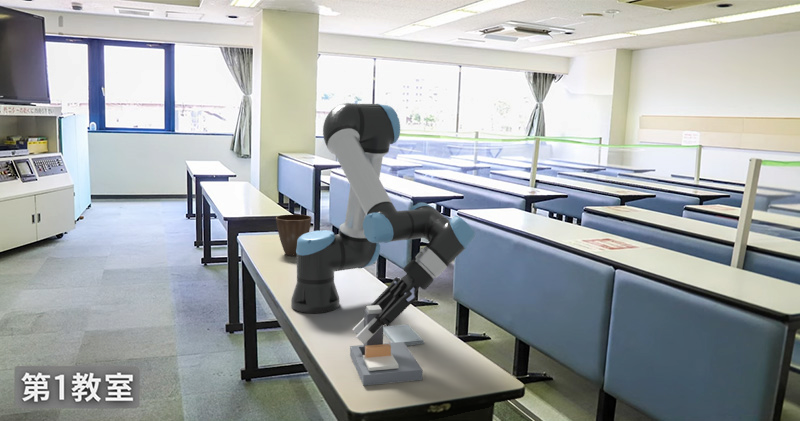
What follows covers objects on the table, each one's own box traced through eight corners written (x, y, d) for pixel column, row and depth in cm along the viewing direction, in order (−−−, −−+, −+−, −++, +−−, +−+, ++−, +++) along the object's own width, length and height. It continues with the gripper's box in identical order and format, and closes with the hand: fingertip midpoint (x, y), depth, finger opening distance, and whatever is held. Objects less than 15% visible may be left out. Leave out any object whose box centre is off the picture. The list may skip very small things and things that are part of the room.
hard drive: (424, 340, 158) (408, 323, 169) (395, 343, 155) (381, 326, 167) (423, 345, 158) (408, 329, 170) (395, 349, 156) (381, 331, 167)
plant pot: (272, 251, 255) (272, 215, 252) (306, 248, 261) (306, 213, 259) (280, 259, 242) (280, 221, 239) (315, 256, 248) (315, 219, 245)
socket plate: (350, 355, 149) (350, 346, 149) (403, 350, 153) (403, 341, 152) (363, 385, 133) (363, 375, 133) (422, 379, 137) (422, 369, 136)
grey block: (363, 347, 147) (364, 305, 146) (379, 346, 149) (380, 304, 147) (366, 353, 144) (367, 310, 142) (382, 352, 145) (383, 309, 143)
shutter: (362, 358, 141) (363, 345, 140) (391, 356, 143) (391, 343, 142) (368, 370, 134) (369, 357, 134) (398, 368, 136) (398, 355, 135)
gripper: (405, 250, 153) (341, 315, 152) (424, 267, 137) (353, 340, 135) (424, 269, 155) (361, 333, 154) (445, 288, 139) (376, 360, 137)
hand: (358, 336), depth 145 cm, fingers closed on grey block, 4 cm apart
